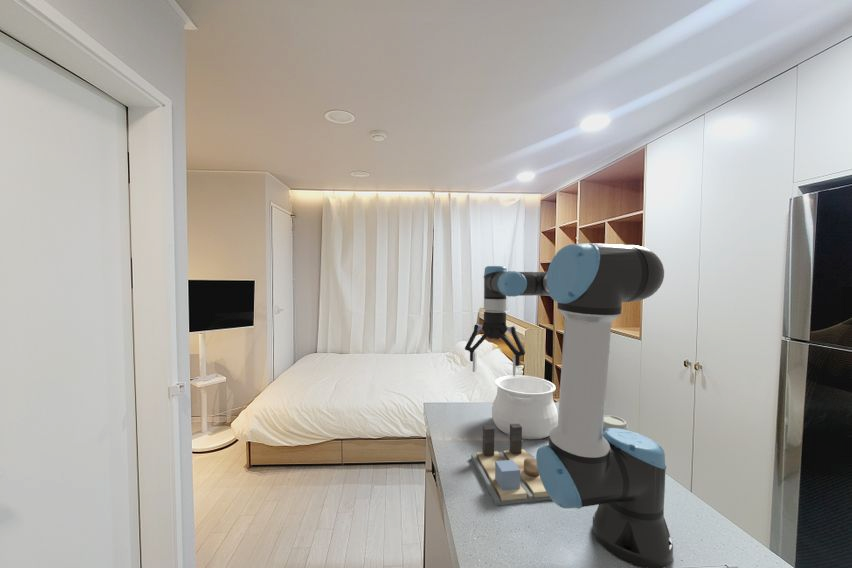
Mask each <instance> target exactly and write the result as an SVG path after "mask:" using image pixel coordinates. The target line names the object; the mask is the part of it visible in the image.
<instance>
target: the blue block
mask: <svg viewBox="0 0 852 568" xmlns="http://www.w3.org/2000/svg"><path fill="white" fill-rule="evenodd" d="M495 480H496V481H497V483H498V485H499V487H500V488H501V490H512V489H520V469H519V468H518V466H517V465H516V464H515V462H514V461H513V460H504V461H495Z"/></svg>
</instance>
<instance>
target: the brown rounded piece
mask: <svg viewBox="0 0 852 568" xmlns="http://www.w3.org/2000/svg"><path fill="white" fill-rule="evenodd" d="M524 473H525V474H526V475H528V476H530V477H538V476H539V472H538V468H537V461H536V458H535V459H533V458H526V459H525V460H524Z"/></svg>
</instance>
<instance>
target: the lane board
mask: <svg viewBox="0 0 852 568" xmlns="http://www.w3.org/2000/svg"><path fill="white" fill-rule="evenodd" d="M524 450H525V451H526V452H527V453H528V454H529V456H530V457H531V458H533V459H536V456H534V455H533V454H532V453H531V452H530V450H528V449H524ZM498 453H499V454H500V456H501V457H502V458H503V460H507V459H506V458H505V456H504V455H503V451H498ZM470 459H471V461H472V463H473V465H474V466H475V468H476V471H477V472H478V474H479V476H480V478H481V480H482V482H483V484H484V486H485V488H486V490H487V491H488V493H489V495H490V497H491V499H492V501H493V503H494V505H495V506H503V505H514V504H515V505H516V504H523V503H524V504H525V503H533V502H543V501H553V500H552V499H551V498H550V496H548V497H538V498H534V497H533V495H532V494H531V492H530V491H529V490H528V488H527V487H526V485H525V484H524V483H523V481H522V480H521V478H520V484H521V486H522V487H523V488H524V490H525V491H526V493H527V499H517V500H507V501H501V500H500V499H499V497H498V495H497V493H496V491H495V490H494V488H493V486H492V484H491V483H490V481H489V479H488V477H487V475H486V474H485V472H484V470H483V468H482V467H481V465H480V463H479V461H478V459H477V458H476V453H471V455H470Z"/></svg>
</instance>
